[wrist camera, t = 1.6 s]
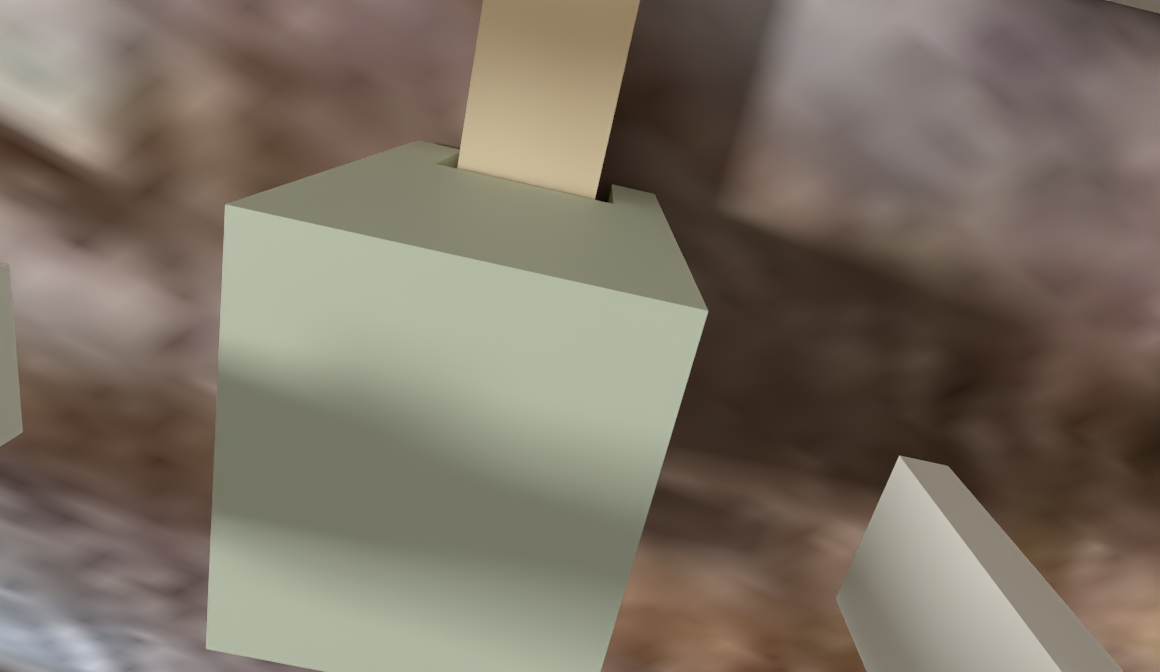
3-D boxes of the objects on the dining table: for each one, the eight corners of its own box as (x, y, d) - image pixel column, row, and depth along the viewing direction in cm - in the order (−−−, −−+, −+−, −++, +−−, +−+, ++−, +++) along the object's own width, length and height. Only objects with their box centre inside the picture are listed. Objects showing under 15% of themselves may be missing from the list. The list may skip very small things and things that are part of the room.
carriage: (592, 435, 20) (585, 720, 11) (384, 391, 20) (205, 648, 11) (654, 193, 18) (708, 311, 9) (418, 140, 17) (225, 204, 8)
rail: (554, 512, 21) (538, 668, 16) (392, 479, 21) (315, 625, 15) (853, -704, 12) (1060, -1351, 7) (577, -785, 12) (556, -1526, 7)
